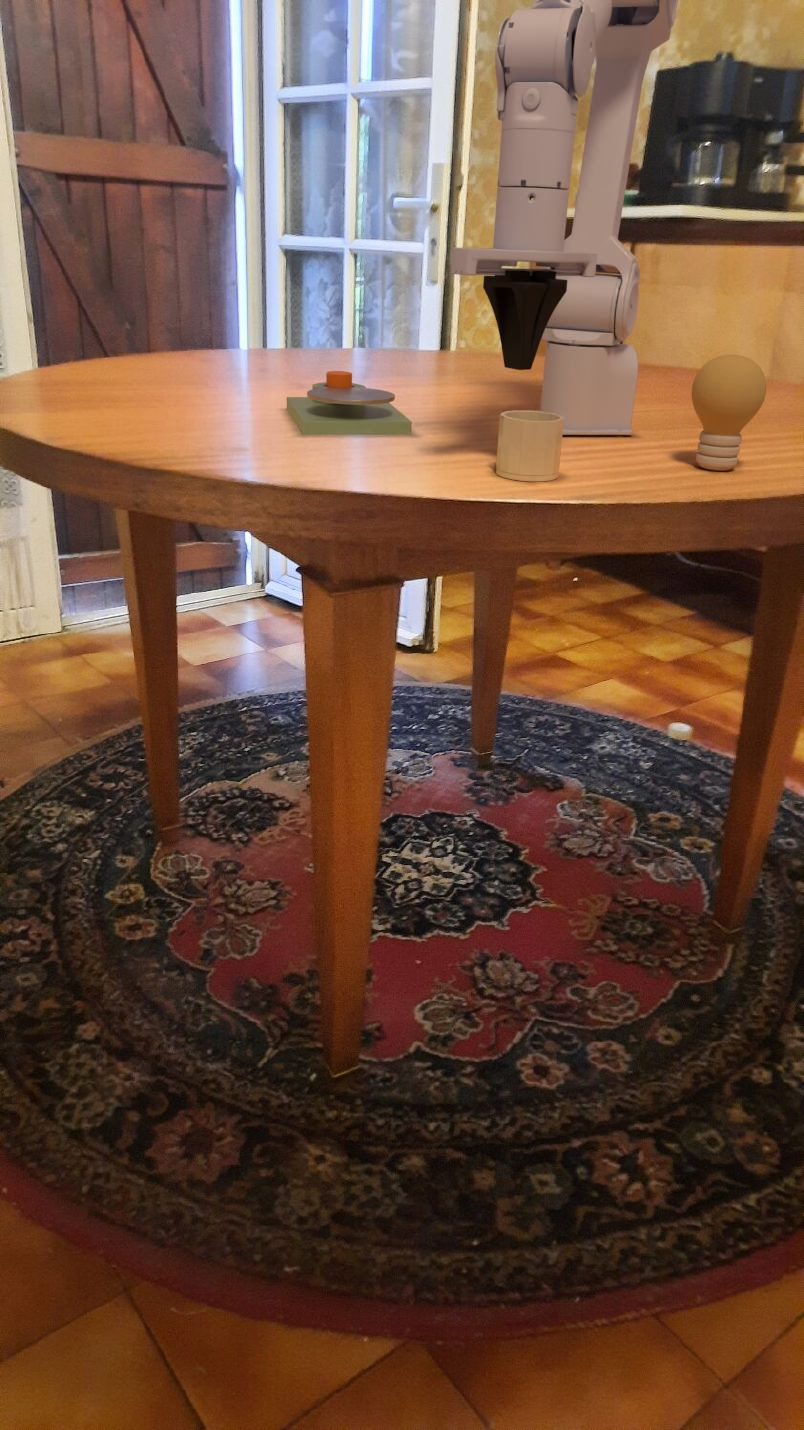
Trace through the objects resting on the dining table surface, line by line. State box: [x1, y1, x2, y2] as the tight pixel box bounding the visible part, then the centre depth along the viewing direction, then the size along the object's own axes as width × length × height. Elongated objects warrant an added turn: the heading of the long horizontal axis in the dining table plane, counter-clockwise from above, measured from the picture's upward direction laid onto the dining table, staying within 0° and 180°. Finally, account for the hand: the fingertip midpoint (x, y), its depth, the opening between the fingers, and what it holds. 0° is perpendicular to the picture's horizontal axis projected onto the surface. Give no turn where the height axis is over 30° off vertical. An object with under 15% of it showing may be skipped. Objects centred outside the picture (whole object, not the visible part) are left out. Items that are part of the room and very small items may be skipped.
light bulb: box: [691, 354, 767, 472], centre depth 92 cm, size 6×6×10 cm
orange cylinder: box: [325, 370, 353, 387], centre depth 111 cm, size 3×3×2 cm
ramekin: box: [495, 409, 564, 483], centre depth 88 cm, size 5×5×5 cm
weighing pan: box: [306, 387, 396, 405], centre depth 104 cm, size 9×9×1 cm
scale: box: [286, 381, 413, 436], centre depth 108 cm, size 15×11×3 cm
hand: (517, 368), depth 87 cm, fingers closed
